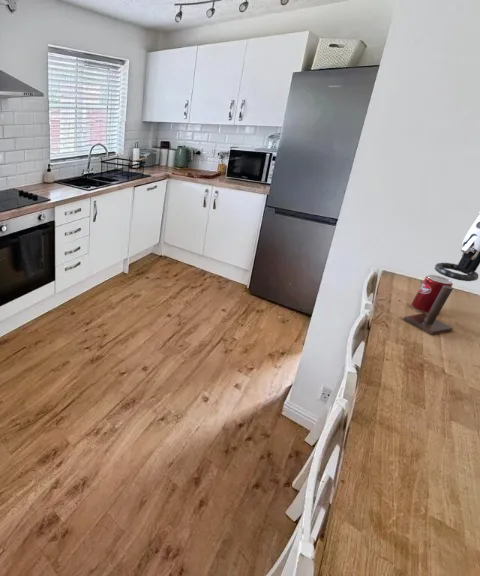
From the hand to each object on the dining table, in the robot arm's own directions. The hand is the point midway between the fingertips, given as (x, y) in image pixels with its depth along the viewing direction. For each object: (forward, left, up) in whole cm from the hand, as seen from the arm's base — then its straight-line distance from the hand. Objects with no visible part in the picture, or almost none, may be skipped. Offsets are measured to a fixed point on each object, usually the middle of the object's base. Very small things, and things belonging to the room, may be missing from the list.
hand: (465, 269), depth 112 cm
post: (0, +3, -20) cm, 20 cm away
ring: (0, +4, 0) cm, 4 cm away
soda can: (+8, -7, -20) cm, 23 cm away
